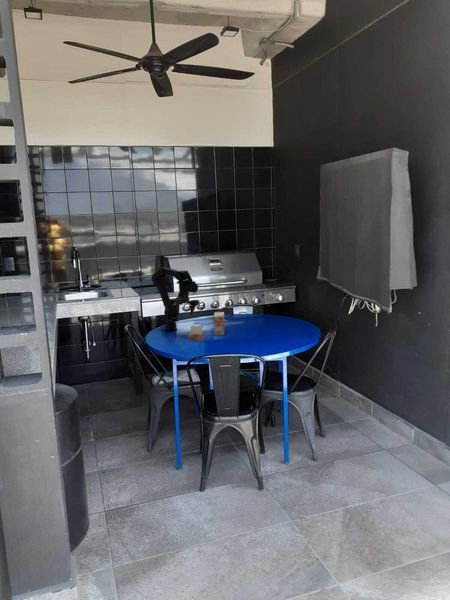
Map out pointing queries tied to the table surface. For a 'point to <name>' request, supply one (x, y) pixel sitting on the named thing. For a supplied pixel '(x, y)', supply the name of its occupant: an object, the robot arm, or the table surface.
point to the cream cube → (196, 328)
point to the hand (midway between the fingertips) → (184, 315)
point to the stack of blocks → (219, 323)
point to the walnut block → (196, 337)
